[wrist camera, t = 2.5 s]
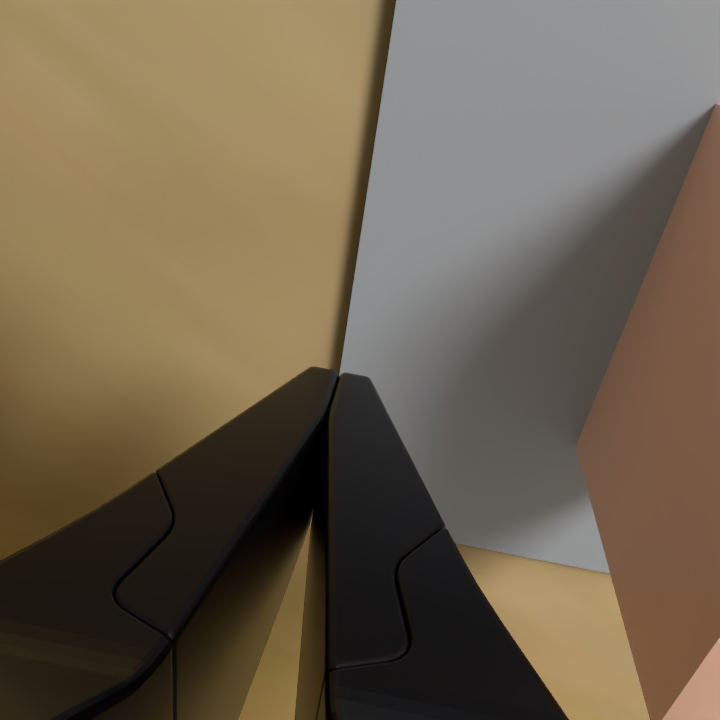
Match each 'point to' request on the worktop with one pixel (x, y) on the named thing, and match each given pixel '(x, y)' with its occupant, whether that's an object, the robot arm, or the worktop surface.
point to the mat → (519, 240)
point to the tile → (667, 456)
